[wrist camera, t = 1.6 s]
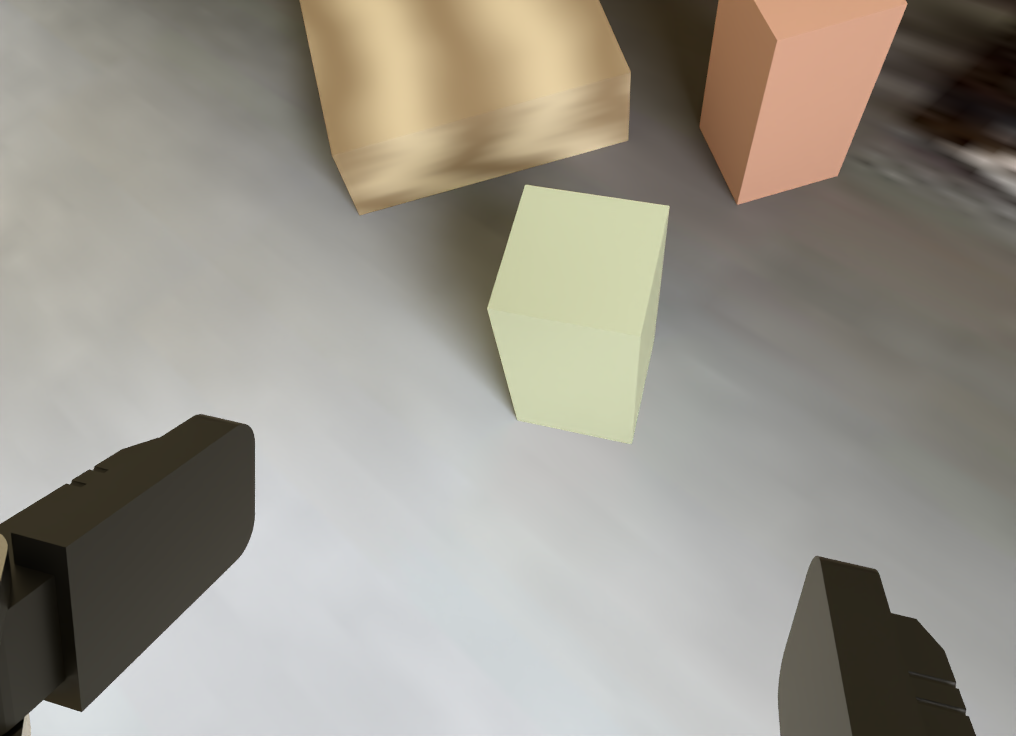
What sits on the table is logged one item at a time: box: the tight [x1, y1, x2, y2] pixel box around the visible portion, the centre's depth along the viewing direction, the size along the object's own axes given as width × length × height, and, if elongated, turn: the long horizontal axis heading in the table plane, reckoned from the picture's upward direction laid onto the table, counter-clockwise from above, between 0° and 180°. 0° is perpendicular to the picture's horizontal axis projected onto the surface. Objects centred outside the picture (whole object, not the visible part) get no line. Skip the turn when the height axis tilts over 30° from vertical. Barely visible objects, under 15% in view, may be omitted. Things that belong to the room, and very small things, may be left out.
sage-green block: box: [487, 185, 669, 444], centre depth 32 cm, size 5×5×10 cm
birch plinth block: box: [300, 0, 631, 215], centre depth 42 cm, size 14×14×5 cm
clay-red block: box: [699, 0, 908, 205], centre depth 36 cm, size 5×5×10 cm
